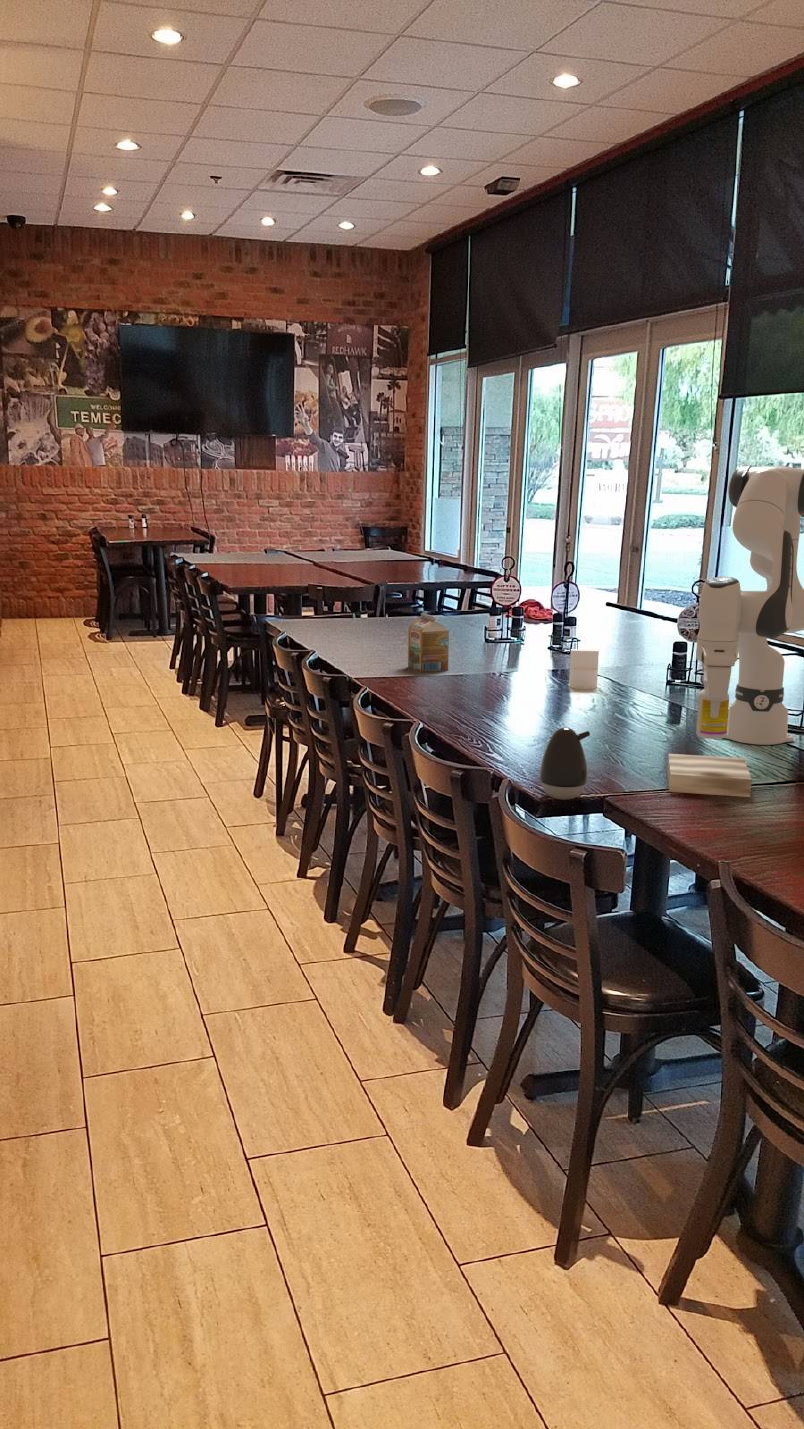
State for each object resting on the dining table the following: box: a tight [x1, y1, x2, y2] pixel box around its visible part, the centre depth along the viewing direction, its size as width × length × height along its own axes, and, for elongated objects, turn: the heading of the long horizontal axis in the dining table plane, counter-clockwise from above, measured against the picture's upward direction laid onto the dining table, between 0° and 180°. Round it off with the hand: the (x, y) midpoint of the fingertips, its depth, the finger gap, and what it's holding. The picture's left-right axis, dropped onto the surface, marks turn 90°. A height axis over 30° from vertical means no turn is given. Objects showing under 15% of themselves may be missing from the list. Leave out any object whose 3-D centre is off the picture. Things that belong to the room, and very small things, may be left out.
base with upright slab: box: [568, 648, 600, 690], centre depth 353 cm, size 9×9×12 cm
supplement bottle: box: [695, 678, 730, 740], centre depth 241 cm, size 7×7×13 cm
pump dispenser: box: [539, 727, 591, 801], centre depth 233 cm, size 10×10×15 cm
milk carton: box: [407, 613, 450, 673], centre depth 381 cm, size 11×10×19 cm
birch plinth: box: [666, 753, 753, 798], centre depth 245 cm, size 18×17×4 cm
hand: (712, 713), depth 242 cm, fingers closed on supplement bottle, 7 cm apart
